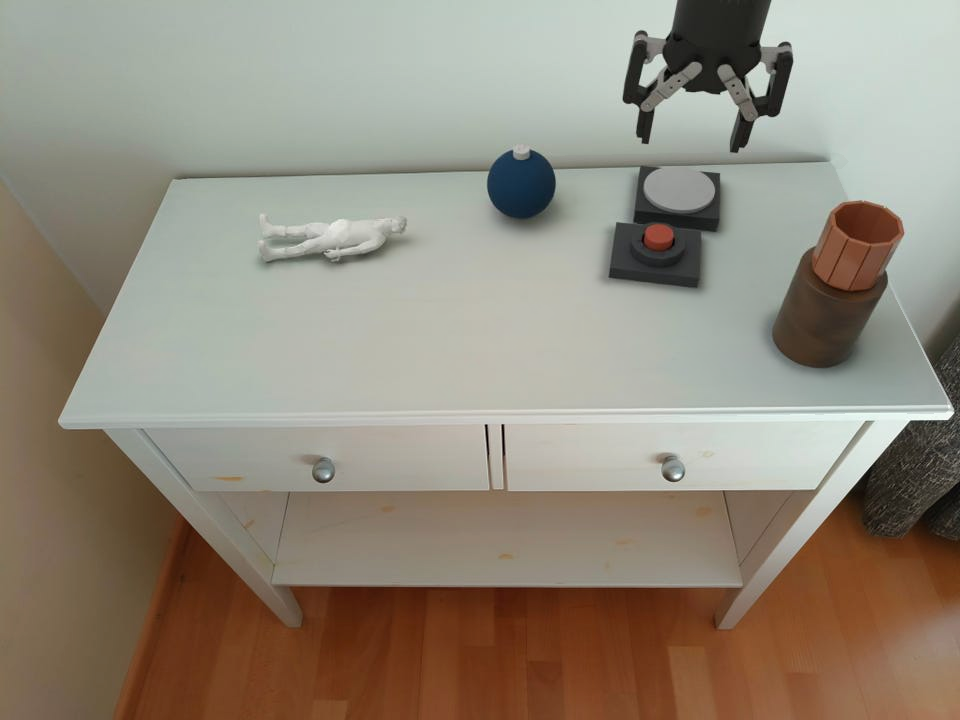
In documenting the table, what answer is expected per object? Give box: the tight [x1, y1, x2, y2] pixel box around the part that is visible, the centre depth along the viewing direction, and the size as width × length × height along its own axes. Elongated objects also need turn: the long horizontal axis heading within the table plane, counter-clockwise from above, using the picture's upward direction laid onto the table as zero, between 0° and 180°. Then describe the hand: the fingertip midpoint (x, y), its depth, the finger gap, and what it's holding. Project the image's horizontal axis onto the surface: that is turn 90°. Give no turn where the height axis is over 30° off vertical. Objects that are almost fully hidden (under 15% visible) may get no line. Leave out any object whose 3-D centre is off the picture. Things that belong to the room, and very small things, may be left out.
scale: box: [632, 165, 721, 232], centre depth 92 cm, size 10×9×3 cm
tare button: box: [644, 224, 674, 251], centre depth 84 cm, size 3×3×1 cm
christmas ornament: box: [486, 143, 557, 220], centre depth 89 cm, size 8×8×10 cm
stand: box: [771, 245, 889, 369], centre depth 74 cm, size 8×8×10 cm
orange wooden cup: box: [811, 199, 905, 291], centre depth 68 cm, size 6×6×6 cm
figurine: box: [257, 213, 409, 263], centre depth 89 cm, size 7×4×18 cm
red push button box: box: [608, 221, 702, 289], centre depth 85 cm, size 10×8×3 cm
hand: (689, 143), depth 72 cm, fingers open, 8 cm apart
